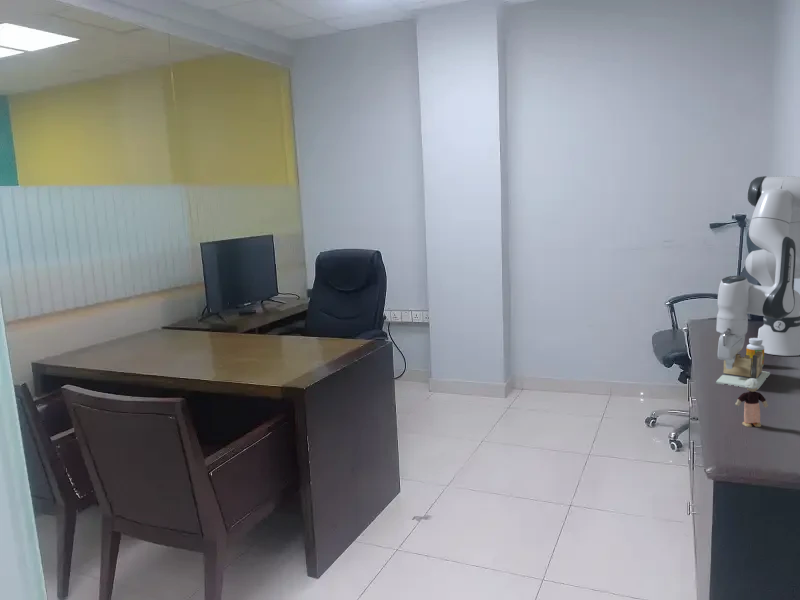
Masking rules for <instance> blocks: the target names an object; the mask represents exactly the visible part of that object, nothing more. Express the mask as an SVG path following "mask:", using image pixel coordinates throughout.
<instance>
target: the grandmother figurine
mask: <svg viewBox="0 0 800 600" xmlns="http://www.w3.org/2000/svg"><path fill="white" fill-rule="evenodd" d="M759 386H760V384H759V383H758V380H757V379H754V378H750V379H747V380H746V382H745V387H746V388H745V387H744V388H745V389H747V392H742V393H741V394H740V395H739V396H738V397H737V400H736V402H735V404H734V405H735V406H737V407H740V405H741V404H742V403H743V402H744V406H743V408H744V409H743V410H744V411H743V421H742V423H741V424H742V426H745V427H747V428H752V427H753V426H754V427H756V428H760V427H762V423H761V408H760V402H761V403H762V405H763V407H764V408H768V407H769V404H768V402H767V400H766V398H765V397H764V395H763V394H761V392H758V390H759V389H760V388H759ZM760 387H761V386H760ZM758 388H759V389H758Z"/></svg>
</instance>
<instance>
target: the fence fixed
mask: <svg viewBox="0 0 800 600" xmlns="http://www.w3.org/2000/svg"><path fill="white" fill-rule="evenodd" d="M762 358H763V353H762V352H761V351H757V353H755V355H753V362H752V378H754V379H756V378H757V377H758V376H759V375H760V373H761V372H762V371H763V367H762Z"/></svg>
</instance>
